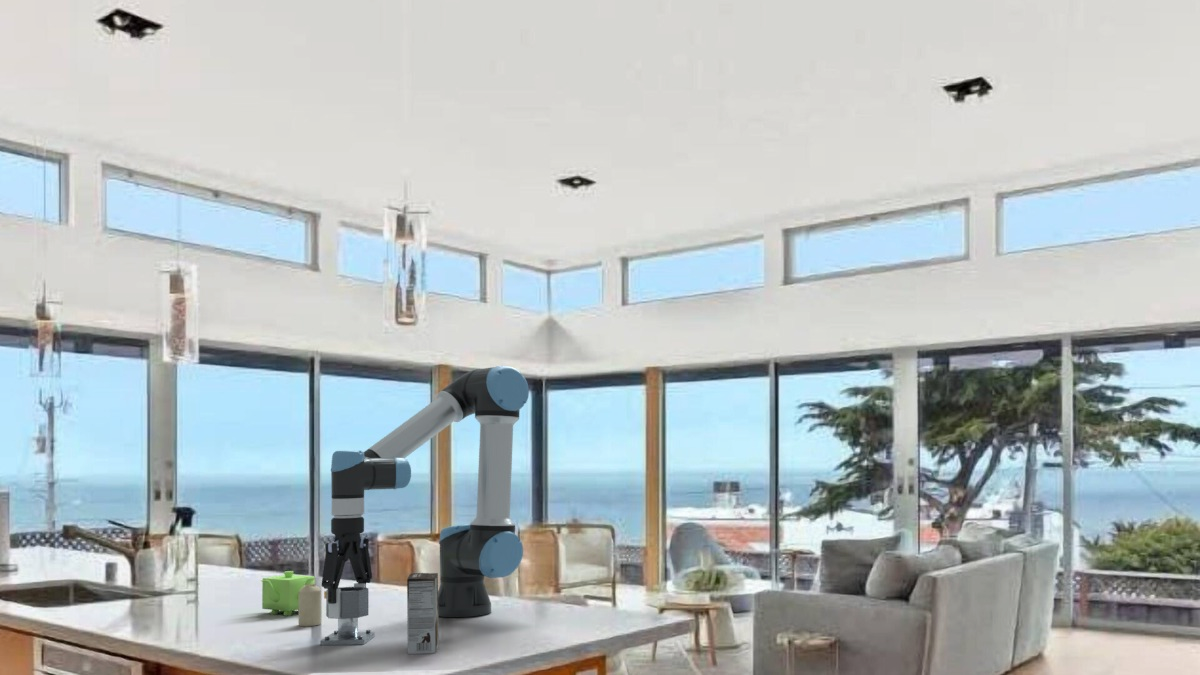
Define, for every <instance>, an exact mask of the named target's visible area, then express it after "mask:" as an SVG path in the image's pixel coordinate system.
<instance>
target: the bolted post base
mask: <svg viewBox="0 0 1200 675" xmlns="http://www.w3.org/2000/svg"><path fill="white" fill-rule="evenodd" d="M374 637H375V631H371V630H370V629H367V630H365V631H360V632H359V618H348V619H337V630H334V631H333V632H332V633H330V634H328V635H327V636H325V637H324V638H322V639H321V640H320V641H319V642H320V644H319V645H320V646H339V645H340V646H341V645H342V646H343V645H344V646H346V645H347V646H349V645H366V644H367V643H368V642H369V641H370V640H372V639H374Z"/></svg>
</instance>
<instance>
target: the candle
mask: <svg viewBox="0 0 1200 675" xmlns="http://www.w3.org/2000/svg"><path fill="white" fill-rule="evenodd" d="M321 624H322V589H321V588H320V587H319V586H318V585H316V584H309V585H304V586H303V587H302V588H301V589H300V590H299V611H298V626H299V627H314V626H319V625H321Z"/></svg>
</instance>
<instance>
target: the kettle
mask: <svg viewBox="0 0 1200 675" xmlns="http://www.w3.org/2000/svg"><path fill="white" fill-rule="evenodd" d="M315 580H316V576H314V575H301V574H300V575H299V574H294V571H293V570H287V571H283V574H282V575H277V576H275V575H274V576H269V577H263V578H262V580H260V582H262V585H261V586H262V589H261V590H262V594H261V595H262V597H261V599H262V601H261V602H262V604H261V607H262V610H270V613H269V615H278V614H279V612H280V611H281V612H283V616H284V617H286V616H293V615H292V614H293V612H294V611H297V612H299V590H300V589H301V588H302V587H303V586H304V585H309V584H315V582H316V581H315ZM315 585H316V584H315Z"/></svg>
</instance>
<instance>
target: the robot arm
mask: <svg viewBox="0 0 1200 675" xmlns="http://www.w3.org/2000/svg"><path fill="white" fill-rule="evenodd" d="M528 384H529V383H528V382H527V379H526V377H524V375H523V373H522V372H521V371H519V370H518V369H517V368H514V367H512V366H506V365H505V366H502V365H501V366H497V365H496V366H492V367H485V368H477V369H472V370H470V371H467V372H466V373H464V374H463V375H461V376H459V377H457V379H455V380H454V381H452V382H451V383H450V384H448V385H447V386H446V387H445V388H443V389H441V390H440V391H438V393H437V395H436V399H435V400H433V401H432V402H430V403H429V404H427V405H426V406H425V407H423V408H422V409H421V410H420V411H418V412H417V413H415V414H413V415H412V416H411V417H409V419H407V420H406V421H404V422H403V423H402V424H400V425H399V426H398V427H396V428H395V429H394V430H392V431H391V432H389V433H388V434H386V435H385V436H383V437H382V438H381V439H380V440H379V441H377V442H376V443H374V444H373V445H372V446H370V447H369V448H368V449H365V450H357V449H356V450H355V449H354V450H335V451H334V452H333V453H332V456H331V464H330V465H331V467H330V472H331V478H330V479H331V480H330V481H331V508H330V509H331V510H330V511H331V513H330V514H331V516H333V517H332V518H331V520H330V532H331V534H332V535H334V539H333V541H332V542H326V543H325V557H324V558H325V559H324V564H323V571H322V576H321V587H322V588H324V590H328V603H329V618H328V619H334V618H340V594H341V589H337V588H339V585H340V582H341V578H342V575H343V572H344V569H345V566H346V562H347V561H350V565H351V568H352V571H353V575H354V578H355V580H356V582H355V583H353V587H366V588H367V584H370V582H371V580H372V578H373V573H372V567H371V566H372V564H371V560H370V558H371V557H370V551H369V543H370V539H369V538H364V537H361V534H363V533H364V532H365V518H364V517H363V515H364V514H365V491H370V490H374V491H375V490H397V489H404V488H406V487H407V486H408V485H409V484H410V481H411V478H412V467H411V464H410V462H409V460H408V459H406V458H407V457H409V456H410V455H411V454H412V453H414V452H415V451H416V450H418V448H420V447H421V446H423V445H424V444H425V443H427V442H428V441H430V440H431V439H432V438H434V437H435V436H436V435H438V434H439V433H440V432H442V431H443V430H445V429H446V428H447V427H448V426H450V425H451V424H452V423H453V422H454V423H460V422H461V421H462V420H464V419H465V418H467V417H469V416H471V415H474V418H475V420H477V422H478V423H479V430H480V431H479V448H478V449H479V450H478V476H477V497H476V515H475V518H474V519H473V520H471V522H470V524H461V525H453V526H452V525H451V526H446V527H443V528H442V529H441V530H440V532H439V541H438V544H439V577H440V578H439V581H440V582H439V586H438V617H443V618H467V617H468V618H469V617H477V616H478V617H479V616H484V615H488V614H491V612H492V602H491V599H490V596H489V593H488V590H487V587H486V584H485V577H486V578H489V579H497V578H499V579H500V578H506V577H509V576H510V575H512V574H513V573H514V572H515V571H516V569H518V567H519V566H520V564H521V562H522V559H523V554H524V547H523V543H522V541H521V539H520V537H519V536H518V535H517V534H516V524H515V522H514V521H513V519H511V516H510V515H511V495H512V494H511V493H512V469H513V468H512V466H513V465H512V464H513V463H512V462H513V438H514V425H515V424H516V423H517V422H518V421H519V420H520V410H521V409H522V408H524V406H525V404H527V402H528V399H529V394H530V392H529V385H528Z"/></svg>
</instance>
